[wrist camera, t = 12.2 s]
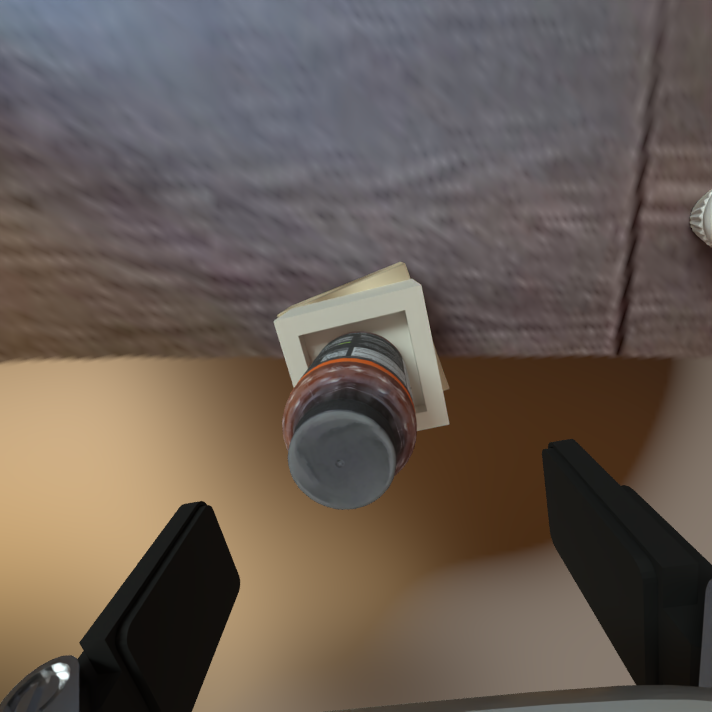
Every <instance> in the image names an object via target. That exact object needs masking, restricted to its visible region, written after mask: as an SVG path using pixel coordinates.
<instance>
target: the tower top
mask: <svg viewBox="0 0 712 712" xmlns="http://www.w3.org/2000/svg"><path fill="white" fill-rule="evenodd" d="M274 325H275V328H276V331H277V334H278V338H279V341H280V344H281V347H282V351H283V354H284V357H285V360H286V363H287V367H288V370H289V373H290V376H291V379H292V383H293V386H294V387H295V386H296V385H297V383H298V382H299V380H300V379H301V377H302V376H303V375H304V373H305V372H306V371H307V369H308V368H309V367H310V365H311V364H312V363H313V361H314V360H315V358H316V357H317V356H318V355H319V353H320V352H321V350H322V349H323V348H324V347H325V346H326V345H327V344H328V343H329V342H331V341H332V340H334V339H335V338H337V337H339V336H341V335H343V334H346V333H349V332H357V331H365V332H371V333H374V334H377V335H380V336H382V337H384V338H385V339H387V340H388V341H390V342H391V343H392V344H393V345H394V346H395V347H396V348H397V349H398V351H399V352H400V354H401V355H402V358H403V360H404V363H405V365H406V368H407V372H408V377H409V382H410V387H411V392H412V397H413V402H414V406H415V414H416V421H417V431H420V430H425V429H430V428H435V427H439V426H444V425H449V420H448V414H447V409H446V404H445V399H444V394H443V390H442V385H441V380H440V375H439V370H438V365H437V360H436V355H435V350H434V345H433V340H432V335H431V330H430V326H429V321H428V316H427V311H426V306H425V301H424V296H423V291H422V286H421V284H419V283H418V282H416V281H415V280H413V279H409V280H405V281H401V282H397V283H393V284H389V285H385V286H381V287H377V288H373V289H369V290H365V291H361V292H357V293H353V294H349V295H345V296H341V297H337V298H333V299H329V300H325V301H321V302H317V303H313V304H309V305H304V306H300V307H296V308H292V309H290V310H289V311H288V312H286V313H285V314H283V315H282V316H280V317H279V318H278V319H276V320H275V321H274Z"/></svg>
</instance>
